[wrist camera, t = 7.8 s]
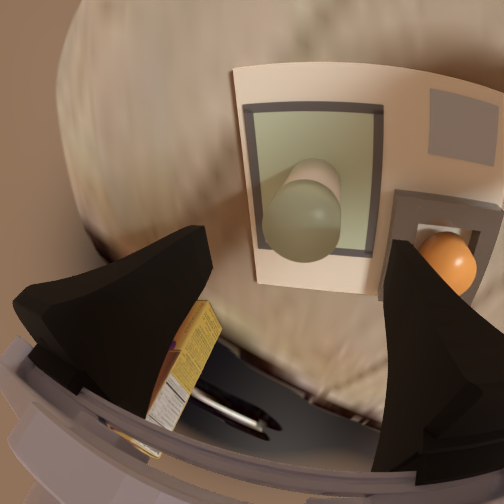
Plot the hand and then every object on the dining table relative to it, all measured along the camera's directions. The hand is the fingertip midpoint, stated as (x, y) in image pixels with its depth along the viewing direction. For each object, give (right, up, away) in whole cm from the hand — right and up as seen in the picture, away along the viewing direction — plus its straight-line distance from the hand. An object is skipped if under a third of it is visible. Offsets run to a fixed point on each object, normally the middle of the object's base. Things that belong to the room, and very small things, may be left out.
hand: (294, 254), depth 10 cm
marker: (+2, +4, +6) cm, 8 cm away
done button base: (+11, 0, +6) cm, 13 cm away
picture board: (+7, +4, +6) cm, 9 cm away
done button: (+11, 0, +5) cm, 12 cm away
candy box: (-9, -6, +19) cm, 22 cm away
